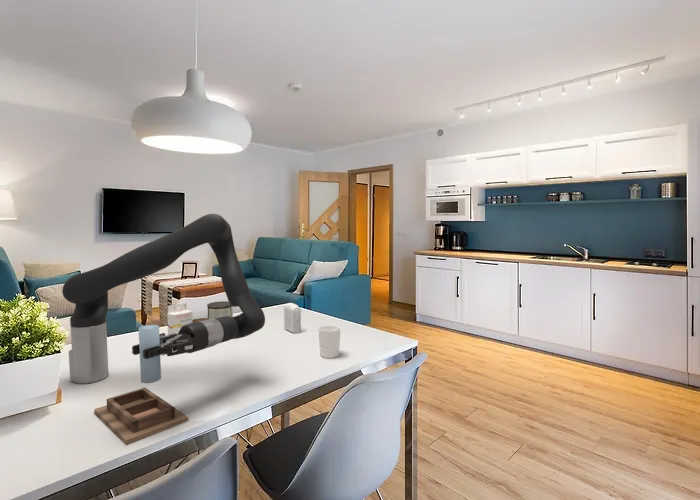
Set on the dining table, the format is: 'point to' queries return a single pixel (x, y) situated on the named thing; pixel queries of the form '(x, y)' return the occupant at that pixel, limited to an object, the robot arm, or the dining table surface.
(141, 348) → the slate peg
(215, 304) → the coffee can
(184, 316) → the ink cartridge box
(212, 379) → the dining table surface
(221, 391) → the dining table surface
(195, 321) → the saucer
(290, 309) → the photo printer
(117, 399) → the slot rack
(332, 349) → the white cup
